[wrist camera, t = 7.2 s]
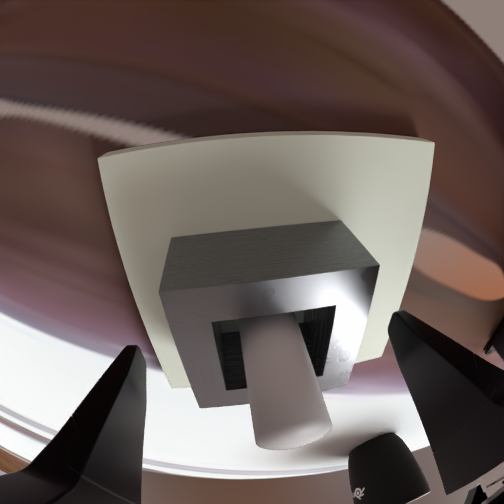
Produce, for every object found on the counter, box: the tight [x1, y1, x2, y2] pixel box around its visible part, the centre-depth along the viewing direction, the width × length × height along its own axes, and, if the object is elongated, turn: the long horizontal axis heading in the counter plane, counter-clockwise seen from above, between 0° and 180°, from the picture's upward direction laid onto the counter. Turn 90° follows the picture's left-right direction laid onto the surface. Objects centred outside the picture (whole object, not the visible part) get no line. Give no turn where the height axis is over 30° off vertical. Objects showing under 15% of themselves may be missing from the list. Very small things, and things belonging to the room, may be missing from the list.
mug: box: [348, 434, 430, 504], centre depth 24 cm, size 12×9×10 cm
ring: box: [158, 220, 380, 408], centre depth 10 cm, size 6×6×3 cm
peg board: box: [97, 131, 435, 450], centre depth 9 cm, size 12×12×7 cm
